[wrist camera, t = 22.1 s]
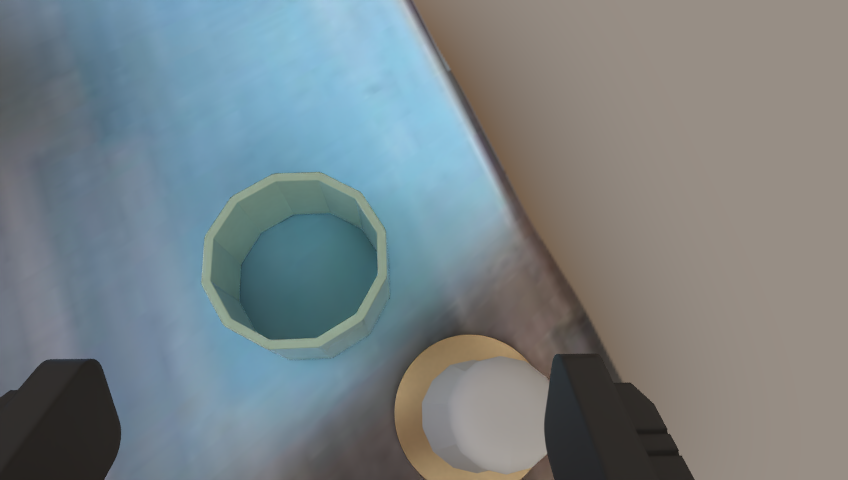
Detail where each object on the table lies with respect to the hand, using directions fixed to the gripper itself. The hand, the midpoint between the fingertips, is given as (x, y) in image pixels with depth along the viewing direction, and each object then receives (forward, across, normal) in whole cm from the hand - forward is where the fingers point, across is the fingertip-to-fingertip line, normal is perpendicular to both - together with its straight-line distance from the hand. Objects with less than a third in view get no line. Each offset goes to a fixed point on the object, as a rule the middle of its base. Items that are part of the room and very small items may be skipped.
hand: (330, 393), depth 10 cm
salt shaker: (+17, -5, +17) cm, 25 cm away
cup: (+23, +4, +12) cm, 26 cm away
